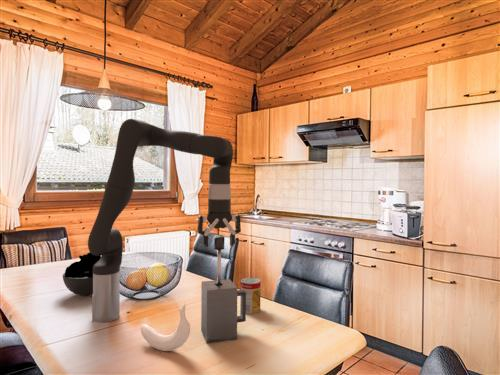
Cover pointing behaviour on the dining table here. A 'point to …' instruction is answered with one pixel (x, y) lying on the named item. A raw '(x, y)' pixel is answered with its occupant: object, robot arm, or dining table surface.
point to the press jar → (221, 310)
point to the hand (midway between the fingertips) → (219, 246)
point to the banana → (170, 340)
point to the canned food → (251, 294)
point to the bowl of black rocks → (81, 275)
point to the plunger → (219, 255)
